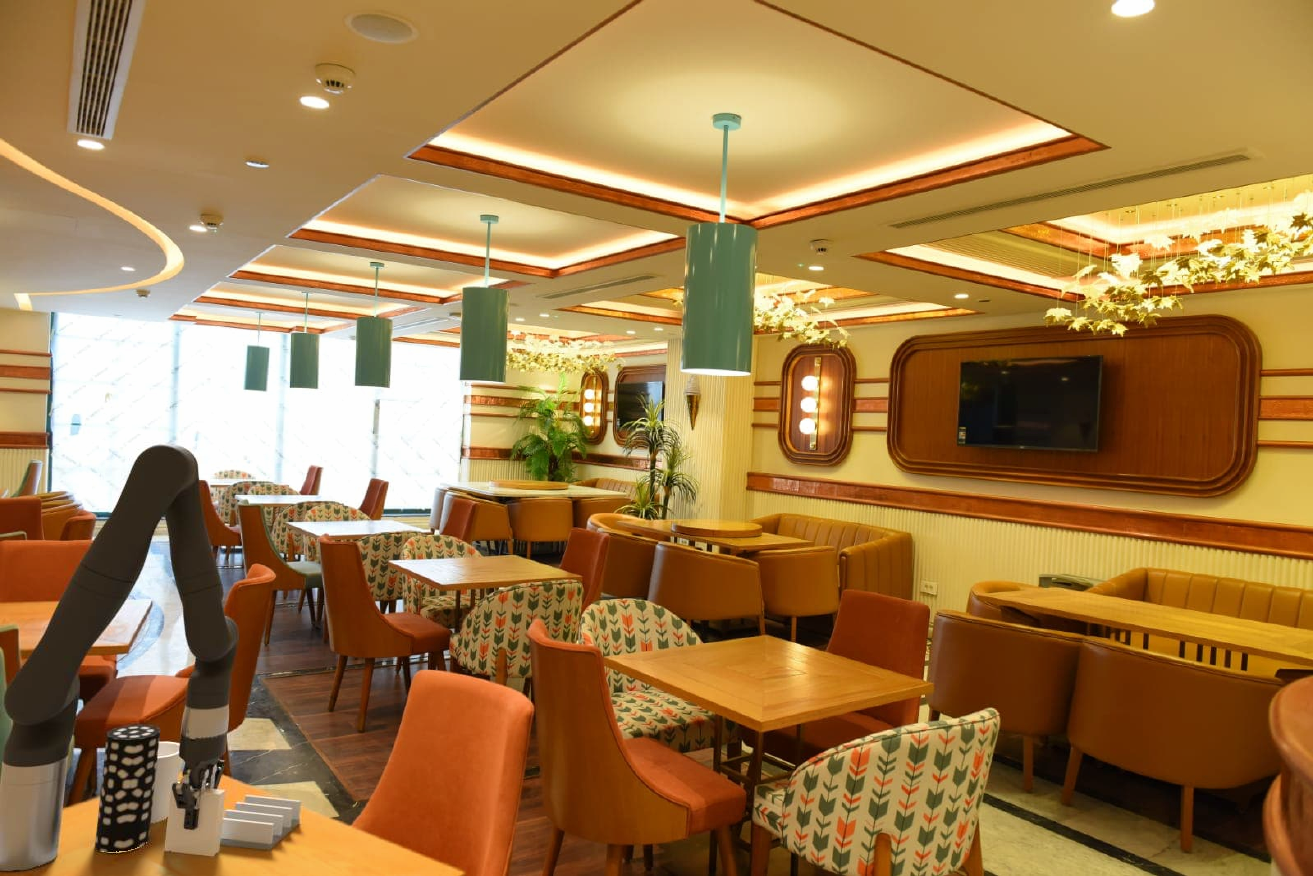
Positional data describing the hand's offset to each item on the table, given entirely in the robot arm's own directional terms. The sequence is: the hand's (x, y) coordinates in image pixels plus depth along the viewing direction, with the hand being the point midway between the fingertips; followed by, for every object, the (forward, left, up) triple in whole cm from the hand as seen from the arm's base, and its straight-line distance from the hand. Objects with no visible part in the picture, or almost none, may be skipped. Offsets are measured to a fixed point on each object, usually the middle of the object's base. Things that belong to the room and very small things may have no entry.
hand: (194, 825), depth 154 cm
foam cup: (-15, +11, -5) cm, 19 cm away
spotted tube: (-13, 0, -5) cm, 14 cm away
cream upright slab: (0, 0, -5) cm, 5 cm away
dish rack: (+7, +10, -5) cm, 13 cm away
